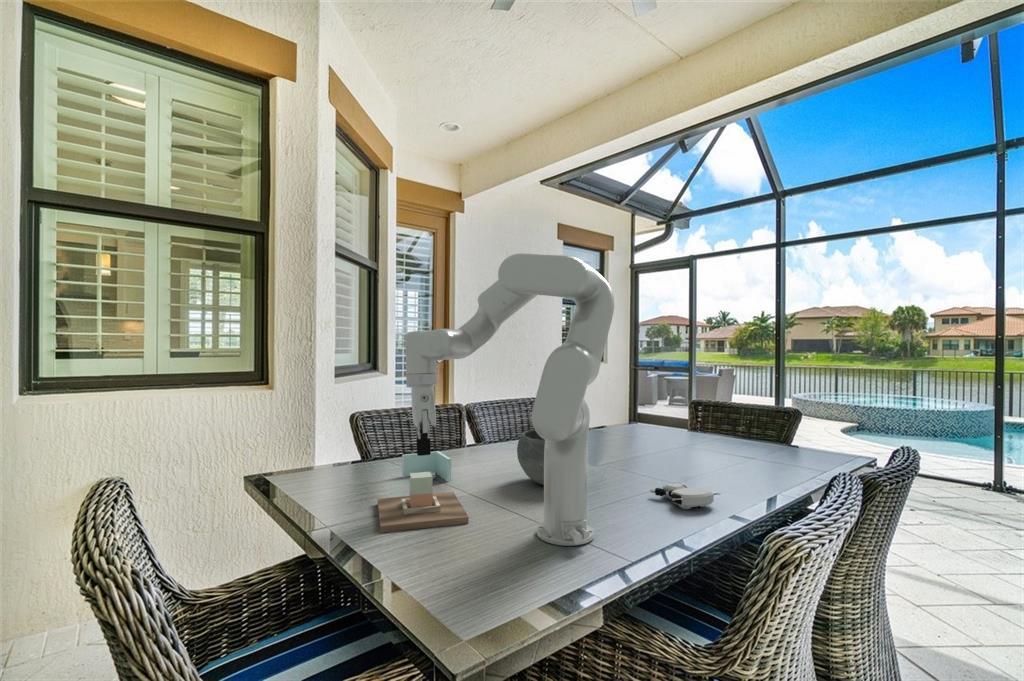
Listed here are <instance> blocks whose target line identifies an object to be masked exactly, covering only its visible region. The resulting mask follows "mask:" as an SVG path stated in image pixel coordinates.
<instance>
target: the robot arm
mask: <svg viewBox="0 0 1024 681" xmlns="http://www.w3.org/2000/svg"><path fill="white" fill-rule="evenodd" d="M499 265H500V266H499V267H498V269H497V270H498V271H497V278H498V279H497V280H496V281H495V282H493V284H491V285H490V286H489V287H488V288H486V289H485V290H484V291H483V292H481V293H480V294H479V295H478V297H477V303H478V306H477V310H476V312H475V314H473V316H472V317H471V318H470V319H469V320H468V321H466V323H464V324H463V325H462V326H460V327H459V328H457V329H455V328H437V329H431V330H416V331H414V330H413V331H409V332H407V333H406V335H405V340H404V341H405V342H404V344H405V345H404V346H405V375H406V376H405V377H406V378H405V379H406V380H405V381H406V383H405V384H406V388H408V389H409V388H410V390H411V412H412V413H411V415H412V421H413V422H412V423H413V425H414V426H415V427H416V453H417V455H418V456H423V455H430V454H431V452H432V451H431V438H430V434H431V433H430V432H431V431H430V425H431V426H432V427H433V428H435V427H436V426H437V412H436V399H435V390H434V389H435V388H434V387H438V377H437V376H438V375H437V373H438V372H437V371H438V370H437V369H438V368H437V366H438V365H437V360H438V361H440V360H441V361H449V360H462V359H464V358H467V357H469V356H471V355H472V354H473V353H475V352H477V350H479V349H480V348H481V347H482V346H484V345H485V344H486V343H487V342H488V341H490V340H491V339H492V338H493V336H494V335H495V334H496V333H497V331H499V329H500V327H501V326H502V325H503V323H504V322H506V321H507V320H508V319H509V318H511V317H512V316H513V315H514V314H515V313H517V312H518V311H519V310H520V309H522V308H523V307H524V306H526V305H527V304H528V303H530V302H531V301H532V300H533V299H535V298H536V297H537V296H548V297H556V298H557V297H558V298H563V299H567V300H570V301H573V302H574V303H575V311H574V313H573V316H572V318H571V320H570V324H569V328H568V332H567V335H566V339H565V341H564V344H561V345H559V346H558V347H556V348H555V349H554V350H553V351H552V352H551V353H550V354H549V356H548V357H547V359H546V361H545V364H544V367H543V370H542V374H541V376H540V377H541V378H540V380H539V384H538V388H537V392H536V394H535V398H534V402H533V406H532V412H531V422H532V426H533V430H535V431H536V432H537V434H538V435H539V436H540V437H541V438H543V439H545V447H544V485H543V522H541V523H540V524H538V526H537V527H536V536H538V538H539V540H542V541H544V542H546V543H547V544H551V545H557V546H564V547H570V546H571V547H572V546H573V547H574V546H575V547H576V546H581V545H584V544H588V543H589V542H591V541H593V539H594V538H595V530H594V528H593V527H592V526H591V525H589V524H588V448H589V446H588V444H589V432H590V431H589V430H590V419H591V416H590V409H589V405H588V403H587V401H586V400H585V394H586V391H587V387H588V386H590V385H591V384H592V383H594V381H595V380H596V379H597V377H598V375H599V372H600V367H601V363H602V359H603V355H604V353H605V348H606V344H607V340H608V337H609V332H610V329H611V324H612V321H613V316H614V310H615V299H614V293H613V290H612V288H611V286H610V284H609V282H608V281H607V280H606V279H605V278H604V276H603V275H602V274H601V273H599V272H598V271H597V270H596V269H595V268H594V267H592V266H591V265H589V263H586V262H585V261H583V260H582V259H581V258H580V259H579V258H577V257H575V256H571V255H563V254H562V255H559V254H537V253H521V252H519V253H514V254H511V255H509V256H507V257H506V258H505V259H504V260H503V261H502V262H501V264H499Z"/></svg>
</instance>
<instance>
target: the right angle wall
mask: <svg viewBox="0 0 1024 681" xmlns="http://www.w3.org/2000/svg"><path fill="white" fill-rule="evenodd" d="M401 457H402V459H401V460H402V461H401V462H402V464H401V465H402V468H401V474H402V475H401V477H402V476H403V477H402V478H406V477H405V476H410V473H419V472H430V473H431V475H432V481H433V480H434V479H436V477H437V476H436V475H438V476H439V475H440V476H441V479H443V478H444V479H445V480H444V479H443V480H444V481H446V482H447V483H450V482H449V481H451V482H452V458H451V457H449V456H447V455H446V454H444V453H443V452H441V451H439V450H437V451H431V454H430V455H423V456H418V455H417V452H416V453H408V454H406V453H405V454H402V455H401ZM435 473H437V474H435ZM440 476H439V477H440Z"/></svg>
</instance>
